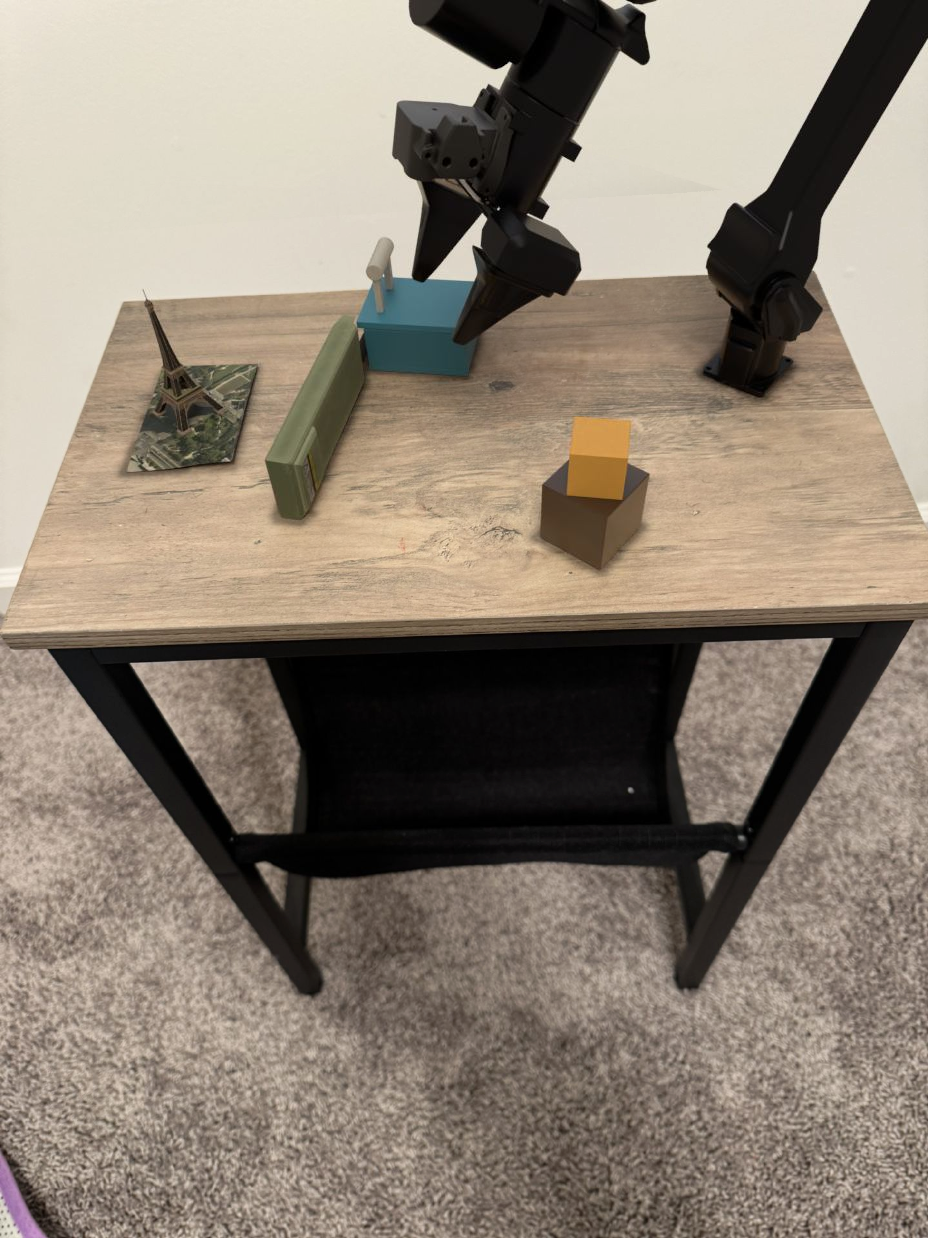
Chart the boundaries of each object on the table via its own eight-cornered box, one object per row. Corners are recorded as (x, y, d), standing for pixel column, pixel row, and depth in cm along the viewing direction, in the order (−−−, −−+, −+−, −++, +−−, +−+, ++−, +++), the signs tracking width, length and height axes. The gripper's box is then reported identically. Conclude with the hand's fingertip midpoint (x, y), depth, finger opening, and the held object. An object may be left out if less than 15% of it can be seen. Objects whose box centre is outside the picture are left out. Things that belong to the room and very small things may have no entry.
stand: (580, 496, 71) (585, 442, 66) (640, 526, 69) (650, 473, 64) (539, 537, 69) (541, 484, 64) (600, 570, 66) (607, 518, 61)
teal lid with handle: (357, 328, 80) (347, 272, 75) (375, 282, 84) (368, 227, 80) (465, 334, 78) (462, 278, 74) (478, 287, 83) (476, 232, 78)
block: (571, 458, 65) (574, 416, 62) (624, 462, 65) (631, 419, 61) (566, 495, 63) (569, 453, 60) (622, 500, 62) (628, 458, 59)
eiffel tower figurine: (235, 467, 75) (190, 340, 65) (126, 472, 76) (63, 346, 65) (258, 367, 84) (222, 240, 74) (160, 371, 85) (110, 246, 74)
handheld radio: (272, 516, 71) (354, 344, 86) (309, 522, 71) (384, 348, 86) (256, 458, 66) (346, 285, 81) (295, 464, 66) (378, 289, 80)
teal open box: (369, 370, 83) (363, 328, 80) (387, 323, 88) (381, 283, 84) (467, 376, 82) (465, 334, 78) (479, 329, 87) (478, 287, 83)
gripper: (395, -6, 55) (309, 217, 64) (501, 99, 44) (381, 349, 53) (523, 71, 62) (429, 263, 70) (643, 178, 51) (514, 389, 60)
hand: (436, 310), depth 63 cm, fingers open, 9 cm apart
